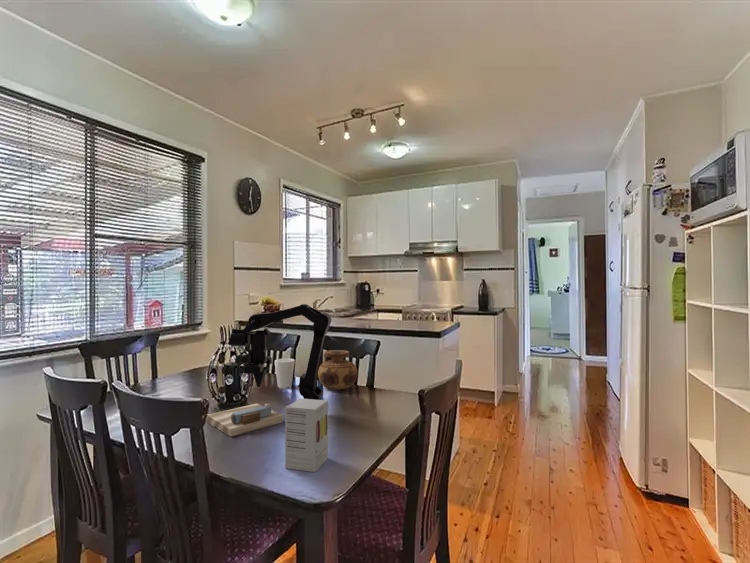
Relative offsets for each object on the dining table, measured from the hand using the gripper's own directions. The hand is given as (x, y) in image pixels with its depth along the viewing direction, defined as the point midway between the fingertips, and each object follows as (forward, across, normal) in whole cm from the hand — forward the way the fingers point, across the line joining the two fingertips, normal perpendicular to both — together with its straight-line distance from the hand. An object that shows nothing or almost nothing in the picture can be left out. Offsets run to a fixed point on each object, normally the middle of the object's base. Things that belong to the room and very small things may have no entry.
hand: (258, 386), depth 153 cm
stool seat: (+11, +8, -3) cm, 14 cm away
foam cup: (+11, -42, +1) cm, 43 cm away
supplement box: (+11, +42, +25) cm, 50 cm away
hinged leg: (+8, +12, +1) cm, 14 cm away
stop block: (+8, +15, +2) cm, 18 cm away
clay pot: (+11, -39, +27) cm, 49 cm away
